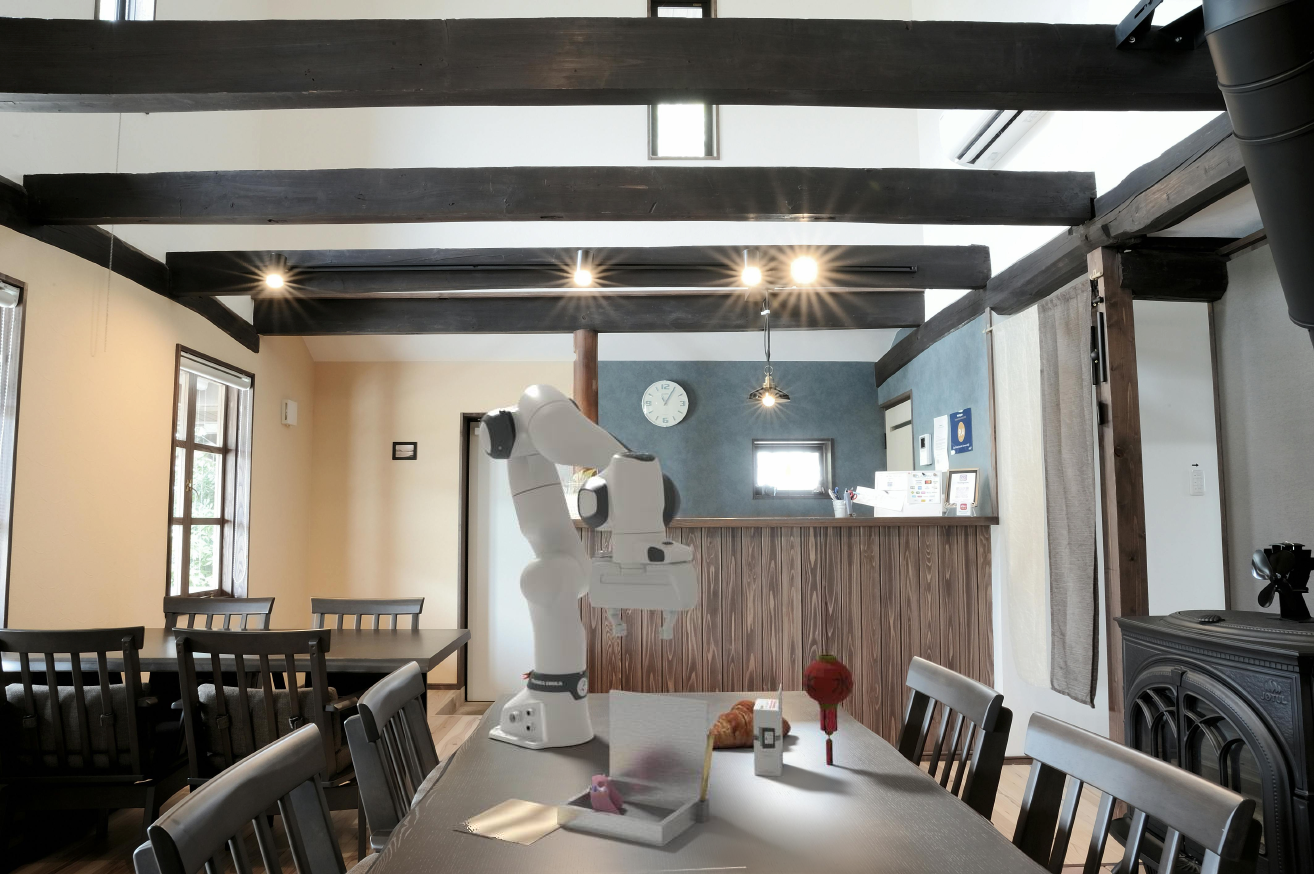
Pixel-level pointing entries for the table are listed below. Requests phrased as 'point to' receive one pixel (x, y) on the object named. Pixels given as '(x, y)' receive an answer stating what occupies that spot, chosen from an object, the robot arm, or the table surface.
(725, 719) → the pastry
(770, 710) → the ink box
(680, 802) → the case
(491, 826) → the pad
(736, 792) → the table surface
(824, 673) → the lantern
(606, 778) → the pink rounded figure
